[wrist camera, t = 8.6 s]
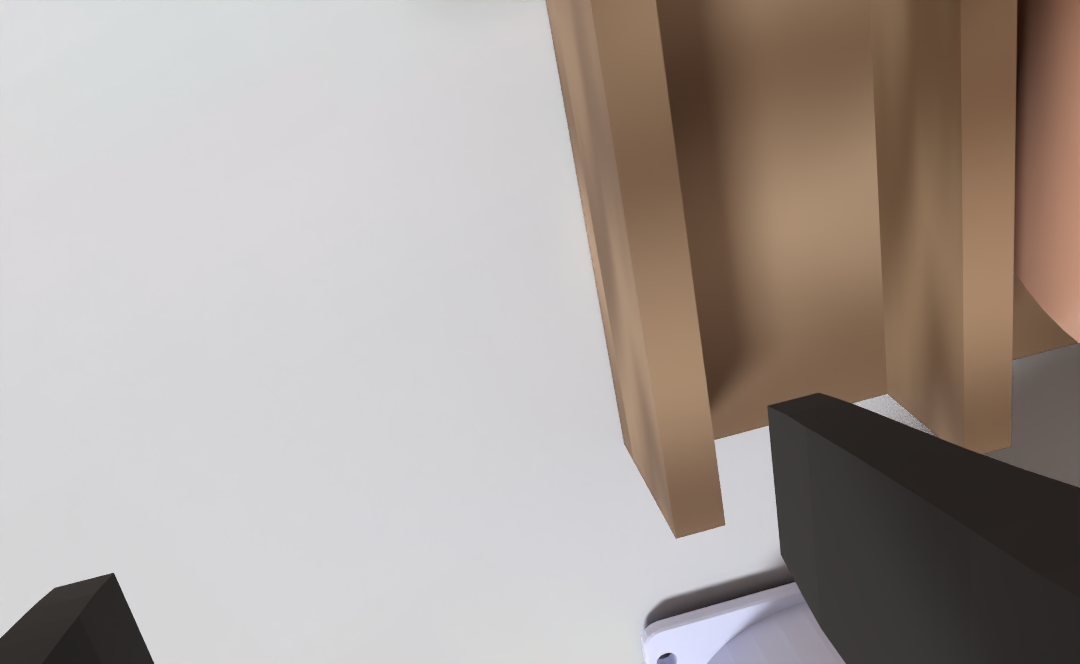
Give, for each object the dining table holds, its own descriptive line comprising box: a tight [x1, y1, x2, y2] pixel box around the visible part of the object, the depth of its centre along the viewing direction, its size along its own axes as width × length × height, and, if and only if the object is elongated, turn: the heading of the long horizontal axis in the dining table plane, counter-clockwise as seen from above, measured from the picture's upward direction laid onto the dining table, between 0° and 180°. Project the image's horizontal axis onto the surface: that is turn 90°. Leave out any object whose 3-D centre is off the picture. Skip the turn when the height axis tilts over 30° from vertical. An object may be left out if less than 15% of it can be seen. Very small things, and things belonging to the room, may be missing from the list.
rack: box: [546, 0, 1078, 539], centre depth 18 cm, size 14×19×4 cm
